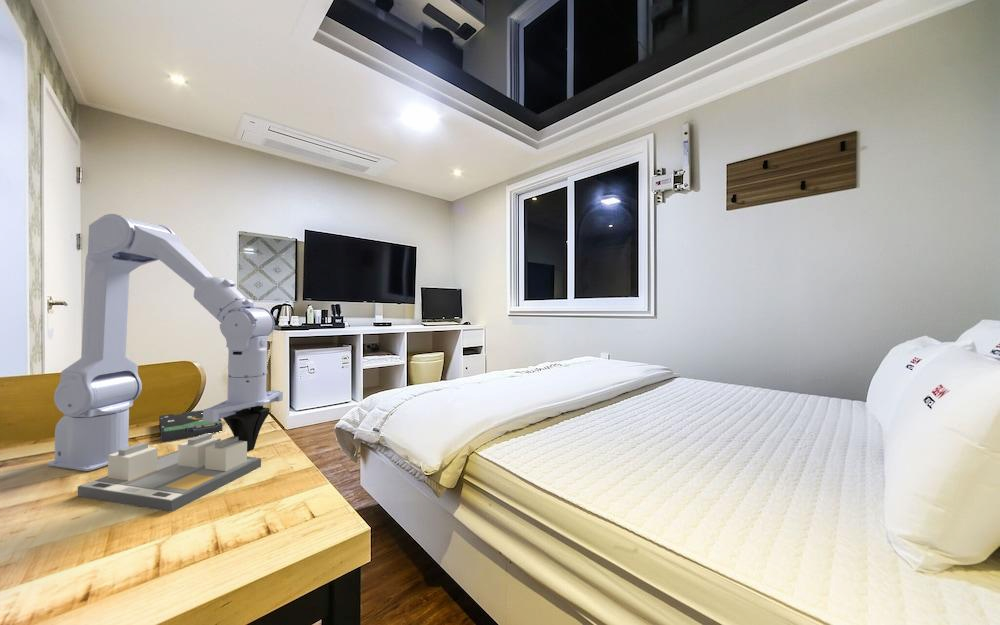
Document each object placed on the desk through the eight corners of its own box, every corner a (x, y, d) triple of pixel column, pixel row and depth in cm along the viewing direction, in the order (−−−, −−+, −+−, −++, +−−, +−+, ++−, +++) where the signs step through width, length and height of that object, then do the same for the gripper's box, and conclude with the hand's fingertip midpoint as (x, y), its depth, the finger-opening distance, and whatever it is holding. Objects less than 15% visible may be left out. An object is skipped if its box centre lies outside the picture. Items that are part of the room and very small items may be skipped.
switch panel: (77, 496, 54) (77, 485, 54) (183, 456, 69) (183, 448, 69) (171, 511, 51) (171, 500, 51) (261, 466, 65) (261, 457, 65)
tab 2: (177, 465, 62) (178, 439, 61) (201, 455, 65) (201, 431, 65) (197, 467, 61) (198, 441, 61) (220, 458, 65) (220, 433, 65)
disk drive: (157, 427, 86) (161, 444, 75) (158, 415, 86) (161, 431, 75) (213, 419, 93) (223, 433, 82) (213, 408, 93) (224, 421, 82)
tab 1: (107, 477, 57) (108, 449, 57) (137, 466, 61) (138, 440, 60) (128, 480, 56) (128, 452, 56) (157, 469, 60) (157, 443, 60)
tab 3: (205, 468, 60) (205, 442, 60) (227, 459, 64) (227, 434, 64) (225, 471, 60) (226, 445, 60) (246, 461, 64) (247, 436, 64)
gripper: (229, 384, 58) (228, 469, 58) (296, 369, 72) (295, 438, 72) (192, 381, 59) (191, 465, 59) (265, 367, 73) (264, 434, 74)
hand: (246, 450), depth 66 cm, fingers closed
